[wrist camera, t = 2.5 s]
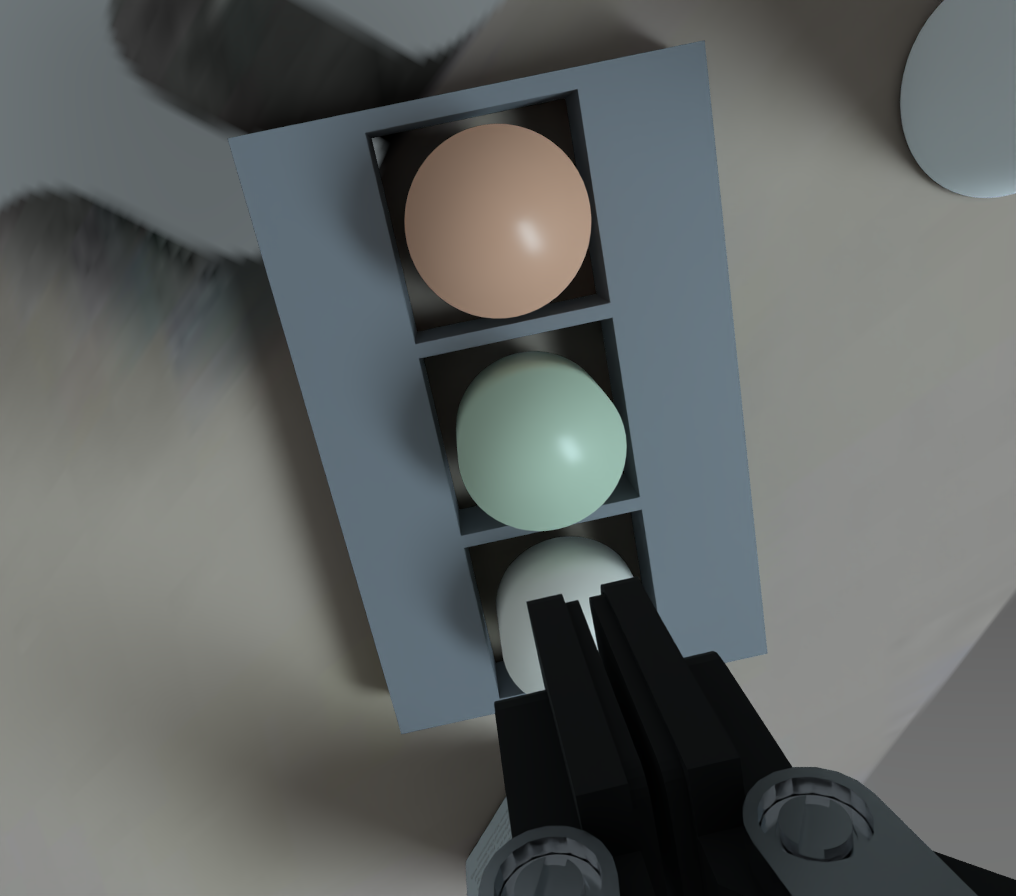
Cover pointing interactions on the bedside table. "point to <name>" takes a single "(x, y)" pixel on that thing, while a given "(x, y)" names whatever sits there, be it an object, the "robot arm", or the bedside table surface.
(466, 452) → the sage button
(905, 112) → the cosmetic bottle
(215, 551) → the bedside table surface
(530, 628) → the ivory button
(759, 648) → the button board
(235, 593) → the bedside table surface
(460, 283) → the terracotta button
